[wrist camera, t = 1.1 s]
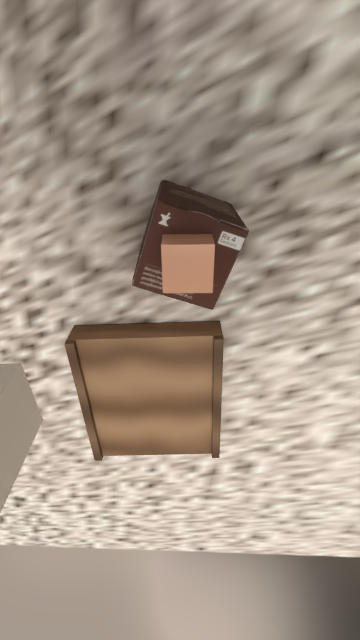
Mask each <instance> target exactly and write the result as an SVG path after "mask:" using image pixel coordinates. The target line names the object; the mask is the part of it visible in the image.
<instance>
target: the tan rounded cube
mask: <svg viewBox="0 0 360 640" xmlns="http://www.w3.org/2000/svg"><path fill="white" fill-rule="evenodd" d="M214 254H215V243H214V239H213V235H212V234H163V236H162V242H161V257H162V285H163V293H213V275H214Z"/></svg>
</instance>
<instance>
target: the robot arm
mask: <svg viewBox="0 0 360 640" xmlns="http://www.w3.org/2000/svg"><path fill="white" fill-rule="evenodd" d="M42 421H43V418H42V416H41V413H40V411H39V408H38V406H37V403H36V401H35V398H34V395H33V393H32V390H31V388H30V385H29V383H28V380H27V378H26V375H25V372H24V370H23V367H22V365H21V363H14V364H0V512H1V510H2V508H3V506H4V504H5V502H6V499H7V497H8V495H9V493H10V491H11V488H12V486H13V484H14V482H15V480H16V478H17V475H18V473H19V471H20V469H21V467H22V464H23V462H24V460H25V458H26V456H27V454H28V451H29V449H30V447H31V445H32V443H33V440H34V438H35V436H36V434H37V432H38V430H39V427H40V425H41V423H42Z"/></svg>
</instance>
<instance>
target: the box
mask: <svg viewBox="0 0 360 640" xmlns="http://www.w3.org/2000/svg"><path fill="white" fill-rule="evenodd" d="M248 232H249V229H248V228H247V227H246V226H245V224H244V223H243V221H242V220H241V218H240V217H239V215H238V214H237V212H236V211H235V209H234V208H233V206H232V205H231V204H229V203H226V202H224V201H221V200H218V199H215V198H212V197H210V196H207V195H205V194H202V193H199V192H196V191H193V190H191V189H188V188H185V187H182V186H179V185H176V184H173V183H171V182H168V181H165V180H162V181H161V183H160V186H159V189H158V192H157V195H156V198H155V201H154V205H153V208H152V211H151V214H150V217H149V221H148V224H147V227H146V231H145V234H144V238H143V242H142V245H141V249H140V253H139V257H138V261H137V265H136V269H135V273H134V276H133V281H132V285H133V286H136V287H139V288H142V289H145V290H148V291H152V292H155V293H158V294H162V295H165V296H168V297H172V298H175V299H178V300H182V301H185V302H188V303H191V304H195V305H198V306H202V307H205V308H208V309H212V310H213V309H214V307H215V305H216V302H217V300H218V298H219V296H220V294H221V291H222V289H223V287H224V285H225V282H226V280H227V278H228V276H229V274H230V272H231V269H232V267H233V265H234V263H235V260H236V258H237V256H238V254H239V252H240V250H241V247H242V245H243V243H244V241H245V239H246V237H247V234H248ZM163 234H212V235H213V239H214V243H215V254H214V275H213V293H163V285H162V257H161V242H162V236H163Z"/></svg>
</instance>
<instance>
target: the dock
mask: <svg viewBox="0 0 360 640" xmlns="http://www.w3.org/2000/svg"><path fill="white" fill-rule="evenodd" d="M65 348H66V351H67V355H68V359H69V363H70V367H71V371H72V374H73V378H74V382H75V386H76V390H77V394H78V398H79V401H80V405H81V409H82V413H83V417H84V421H85V424H86V428H87V432H88V436H89V440H90V444H91V448H92V451H93V455H94V459H95V461H98V460H102V458H103V456H118V455H164V454H210V453H212V458H219V451H220V422H221V394H222V365H223V335H222V329H221V324H220V321H206V322H173V323H140V324H107V325H74V327H73V329H72V331H71V333H70V335H69V336H68V338H67V340H66V342H65Z"/></svg>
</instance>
